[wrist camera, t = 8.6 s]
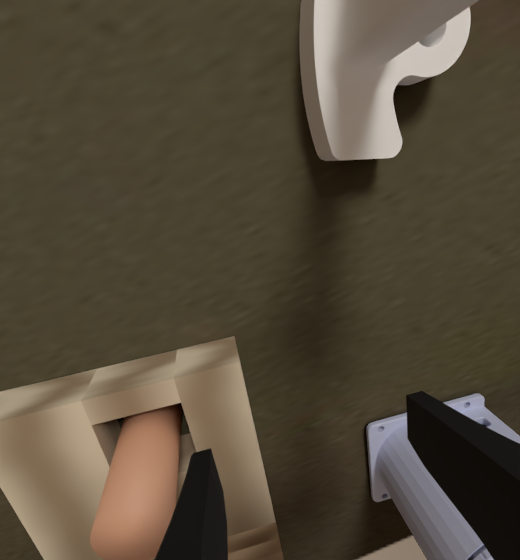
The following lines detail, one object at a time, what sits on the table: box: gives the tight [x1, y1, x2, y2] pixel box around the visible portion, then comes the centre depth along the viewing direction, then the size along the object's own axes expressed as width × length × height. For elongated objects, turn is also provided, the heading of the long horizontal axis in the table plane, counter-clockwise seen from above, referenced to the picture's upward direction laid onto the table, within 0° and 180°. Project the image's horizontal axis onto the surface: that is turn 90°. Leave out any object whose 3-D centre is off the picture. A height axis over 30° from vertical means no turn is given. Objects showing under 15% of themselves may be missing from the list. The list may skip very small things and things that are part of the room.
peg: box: [90, 403, 182, 560], centre depth 18 cm, size 3×3×8 cm
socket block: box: [0, 336, 284, 560], centre depth 20 cm, size 14×14×7 cm
